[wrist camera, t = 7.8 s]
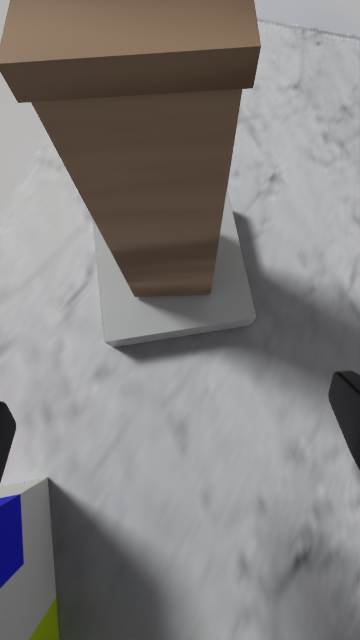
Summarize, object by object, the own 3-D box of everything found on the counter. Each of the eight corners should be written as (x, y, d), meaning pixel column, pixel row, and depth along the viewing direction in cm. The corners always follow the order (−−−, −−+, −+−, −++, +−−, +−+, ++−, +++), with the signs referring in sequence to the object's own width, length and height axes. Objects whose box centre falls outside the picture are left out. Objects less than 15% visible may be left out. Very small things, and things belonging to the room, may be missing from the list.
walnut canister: (214, 296, 19) (260, 46, 6) (131, 300, 19) (-5, 63, 6) (209, 225, 21) (239, -102, 7) (133, 228, 21) (29, -84, 8)
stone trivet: (247, 327, 22) (256, 317, 19) (115, 348, 22) (104, 342, 19) (222, 211, 24) (226, 187, 21) (103, 229, 24) (91, 207, 21)
